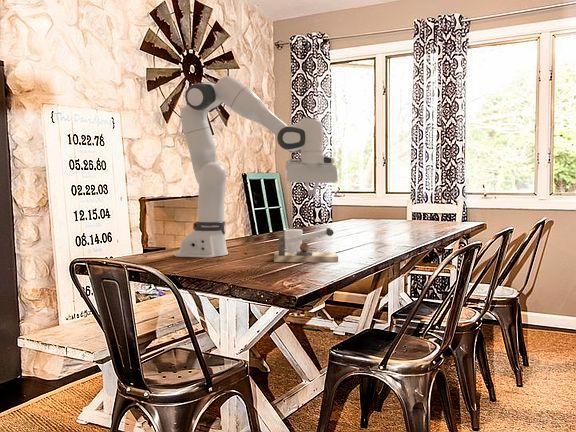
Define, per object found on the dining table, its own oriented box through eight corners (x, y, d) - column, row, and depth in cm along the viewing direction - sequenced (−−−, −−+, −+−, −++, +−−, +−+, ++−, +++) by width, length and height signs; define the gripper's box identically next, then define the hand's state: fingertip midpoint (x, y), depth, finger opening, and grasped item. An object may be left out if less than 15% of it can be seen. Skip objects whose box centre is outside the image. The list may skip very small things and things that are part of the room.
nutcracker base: (274, 261, 215) (273, 238, 214) (274, 257, 227) (274, 235, 226) (338, 261, 215) (338, 238, 214) (335, 257, 227) (335, 235, 226)
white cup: (300, 254, 235) (300, 231, 235) (282, 253, 237) (282, 230, 236) (304, 251, 243) (304, 229, 242) (286, 251, 245) (286, 228, 244)
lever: (279, 247, 217) (278, 240, 217) (279, 244, 224) (278, 238, 224) (334, 235, 217) (332, 228, 217) (332, 233, 224) (331, 227, 223)
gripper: (285, 158, 215) (285, 194, 216) (338, 159, 215) (337, 194, 216) (285, 159, 221) (285, 193, 222) (336, 159, 221) (336, 194, 222)
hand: (311, 194), depth 219 cm, fingers closed
